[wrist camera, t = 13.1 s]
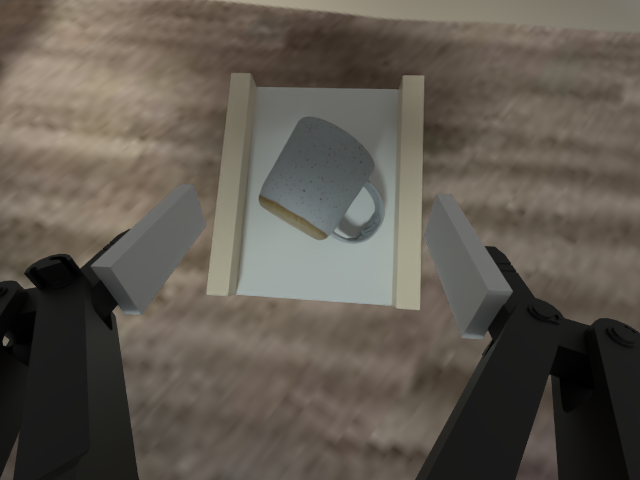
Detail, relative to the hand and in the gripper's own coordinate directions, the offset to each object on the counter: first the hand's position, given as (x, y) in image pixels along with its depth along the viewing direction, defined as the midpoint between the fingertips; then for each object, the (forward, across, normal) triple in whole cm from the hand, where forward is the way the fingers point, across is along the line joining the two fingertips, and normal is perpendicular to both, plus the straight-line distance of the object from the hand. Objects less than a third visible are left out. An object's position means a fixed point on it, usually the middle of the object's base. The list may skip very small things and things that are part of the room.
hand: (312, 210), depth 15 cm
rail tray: (+12, 0, -6) cm, 14 cm away
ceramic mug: (+11, +1, -6) cm, 12 cm away
